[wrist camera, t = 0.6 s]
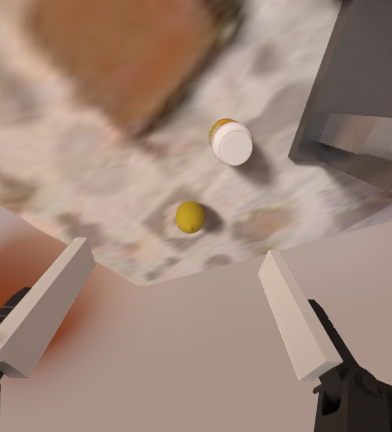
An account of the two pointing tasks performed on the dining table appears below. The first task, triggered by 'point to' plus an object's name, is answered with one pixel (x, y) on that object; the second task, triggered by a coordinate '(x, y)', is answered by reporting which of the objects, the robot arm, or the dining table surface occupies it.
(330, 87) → the grey frame
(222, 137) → the supplement bottle
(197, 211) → the lemon
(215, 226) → the dining table surface
